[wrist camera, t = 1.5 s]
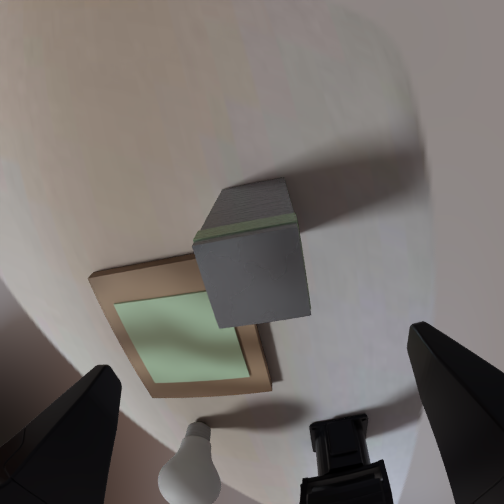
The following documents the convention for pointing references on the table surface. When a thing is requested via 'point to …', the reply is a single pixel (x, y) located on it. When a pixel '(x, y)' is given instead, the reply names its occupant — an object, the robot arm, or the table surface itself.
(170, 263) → the stand plate
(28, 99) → the table surface
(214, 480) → the lightbulb
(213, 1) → the table surface
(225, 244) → the column
